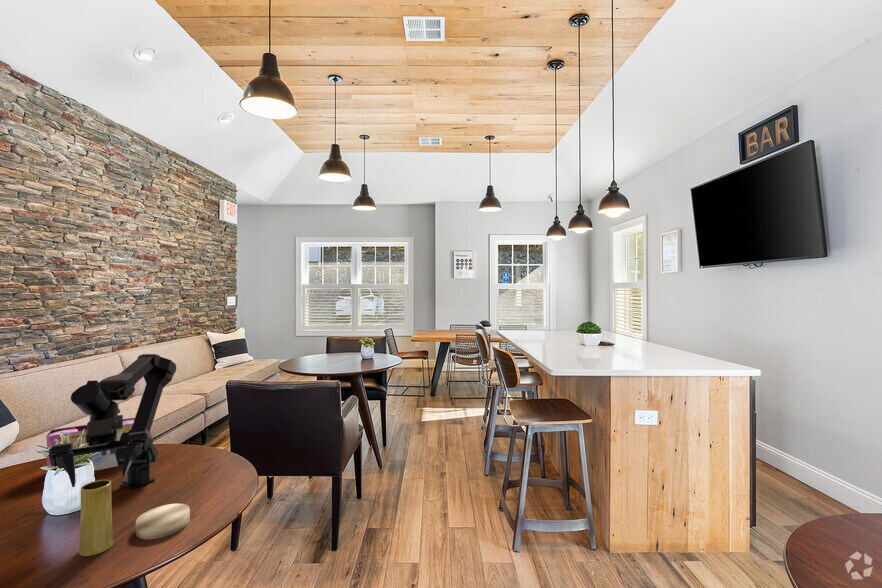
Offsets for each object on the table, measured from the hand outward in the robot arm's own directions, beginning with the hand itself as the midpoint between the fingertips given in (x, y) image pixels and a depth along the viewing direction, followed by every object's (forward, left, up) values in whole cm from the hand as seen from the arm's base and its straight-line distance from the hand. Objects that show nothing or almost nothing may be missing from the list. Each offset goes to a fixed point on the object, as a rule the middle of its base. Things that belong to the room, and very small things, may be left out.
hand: (99, 481), depth 98 cm
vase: (+6, -3, -13) cm, 14 cm away
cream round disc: (+10, +9, -13) cm, 18 cm away
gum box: (-46, +19, -13) cm, 52 cm away
